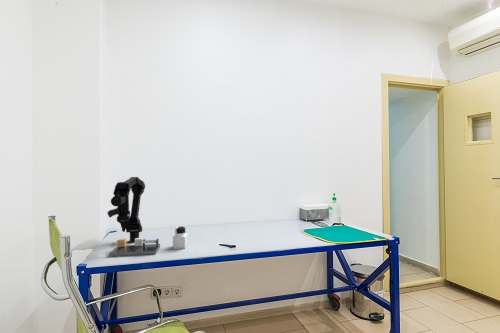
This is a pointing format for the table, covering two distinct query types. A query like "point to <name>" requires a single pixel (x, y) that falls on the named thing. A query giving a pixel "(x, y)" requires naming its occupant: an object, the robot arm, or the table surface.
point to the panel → (136, 250)
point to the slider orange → (121, 242)
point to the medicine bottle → (179, 238)
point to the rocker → (149, 241)
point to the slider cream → (138, 241)
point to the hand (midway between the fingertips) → (124, 229)
